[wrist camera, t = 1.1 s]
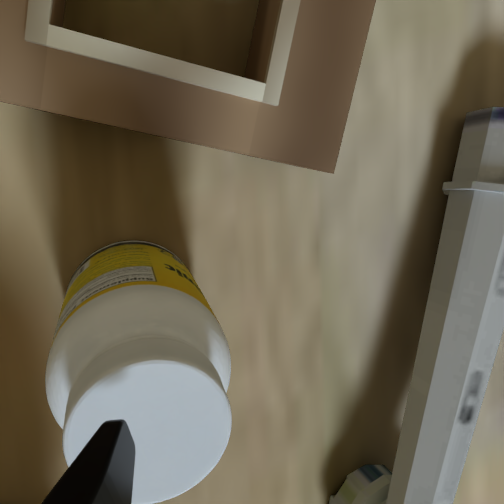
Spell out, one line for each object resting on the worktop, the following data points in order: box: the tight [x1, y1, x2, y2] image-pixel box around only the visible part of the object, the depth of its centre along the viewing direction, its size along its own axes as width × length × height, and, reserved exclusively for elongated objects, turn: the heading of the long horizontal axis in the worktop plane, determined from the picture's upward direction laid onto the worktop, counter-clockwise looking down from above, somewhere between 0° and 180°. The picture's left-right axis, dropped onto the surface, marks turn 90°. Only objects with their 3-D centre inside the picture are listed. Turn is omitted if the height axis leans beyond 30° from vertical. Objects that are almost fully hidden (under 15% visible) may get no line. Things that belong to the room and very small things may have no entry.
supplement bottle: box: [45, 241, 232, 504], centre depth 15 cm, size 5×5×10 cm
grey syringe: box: [329, 107, 504, 504], centre depth 23 cm, size 5×7×25 cm
